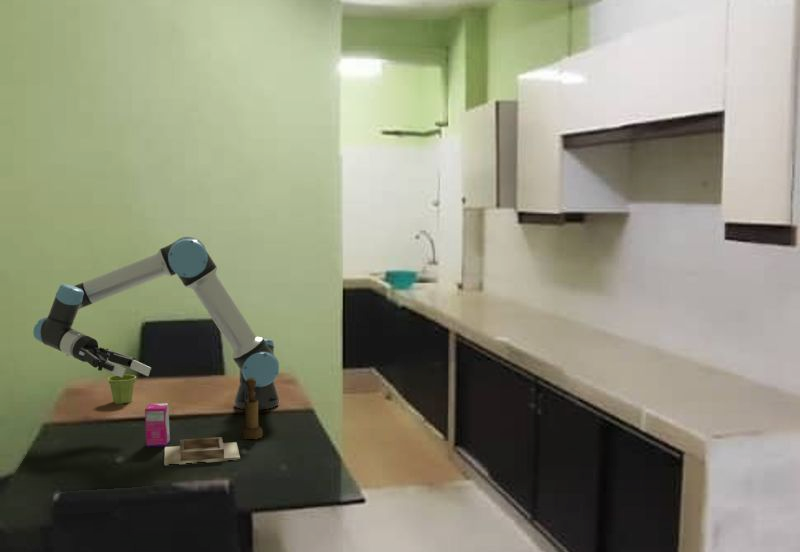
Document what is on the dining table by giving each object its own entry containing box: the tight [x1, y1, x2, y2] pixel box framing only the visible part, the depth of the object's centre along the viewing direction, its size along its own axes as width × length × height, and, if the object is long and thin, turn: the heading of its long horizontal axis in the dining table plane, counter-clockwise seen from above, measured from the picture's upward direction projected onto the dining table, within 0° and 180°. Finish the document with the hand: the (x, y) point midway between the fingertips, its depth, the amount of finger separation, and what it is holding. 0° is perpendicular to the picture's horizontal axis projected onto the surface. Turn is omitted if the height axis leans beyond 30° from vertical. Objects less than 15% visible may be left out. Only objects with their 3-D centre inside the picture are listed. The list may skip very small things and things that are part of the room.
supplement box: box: [144, 402, 171, 448], centre depth 239 cm, size 6×6×12 cm
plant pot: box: [107, 374, 137, 405], centre depth 286 cm, size 9×9×9 cm
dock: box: [163, 436, 241, 466], centre depth 230 cm, size 20×14×3 cm
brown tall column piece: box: [240, 378, 264, 440], centre depth 246 cm, size 7×6×18 cm
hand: (136, 372), depth 245 cm, fingers open, 13 cm apart
